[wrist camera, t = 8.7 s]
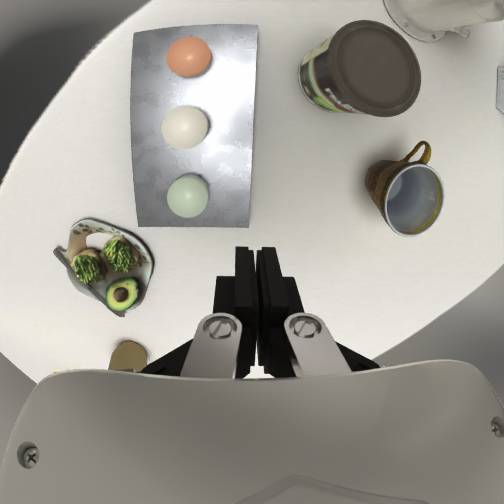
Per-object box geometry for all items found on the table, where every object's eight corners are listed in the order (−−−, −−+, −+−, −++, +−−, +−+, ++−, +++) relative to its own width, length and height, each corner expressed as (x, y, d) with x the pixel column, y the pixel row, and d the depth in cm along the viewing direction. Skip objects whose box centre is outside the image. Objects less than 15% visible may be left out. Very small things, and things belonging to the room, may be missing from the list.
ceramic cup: (397, 216, 43) (429, 242, 34) (347, 203, 41) (374, 229, 33) (420, 143, 37) (459, 156, 28) (369, 123, 35) (404, 130, 27)
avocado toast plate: (55, 278, 46) (44, 291, 42) (64, 199, 39) (50, 209, 35) (138, 317, 51) (131, 333, 47) (163, 243, 44) (156, 257, 40)
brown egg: (215, 45, 30) (211, 35, 25) (213, 79, 32) (209, 74, 27) (176, 47, 29) (167, 38, 24) (175, 81, 32) (165, 77, 27)
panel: (256, 31, 29) (257, 25, 26) (248, 219, 42) (248, 227, 39) (140, 37, 28) (133, 32, 25) (144, 219, 41) (138, 226, 39)
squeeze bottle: (109, 340, 54) (83, 407, 38) (136, 333, 53) (112, 405, 37) (131, 363, 57) (112, 428, 42) (157, 357, 56) (142, 428, 40)
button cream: (211, 105, 33) (206, 104, 28) (210, 143, 35) (206, 149, 30) (172, 107, 32) (161, 107, 28) (172, 144, 35) (162, 150, 30)
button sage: (211, 169, 38) (207, 178, 33) (211, 204, 40) (207, 217, 36) (175, 169, 38) (165, 178, 33) (176, 204, 40) (168, 217, 35)
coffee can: (355, 123, 36) (406, 134, 23) (288, 97, 34) (315, 90, 21) (374, 64, 31) (430, 52, 19) (309, 35, 29) (344, 3, 17)
